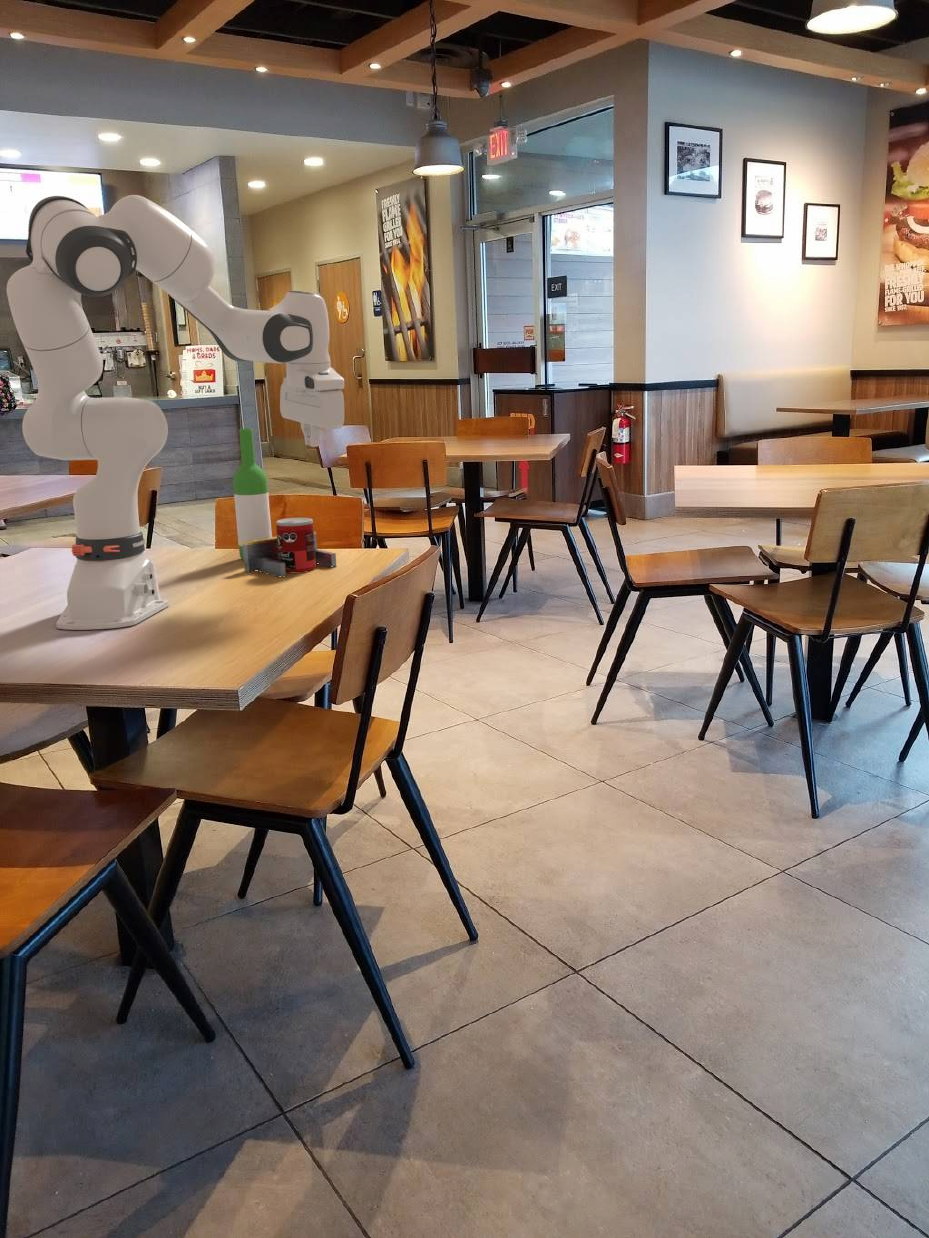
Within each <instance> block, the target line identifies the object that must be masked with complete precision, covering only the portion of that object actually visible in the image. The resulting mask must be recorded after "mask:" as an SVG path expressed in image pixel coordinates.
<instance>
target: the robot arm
mask: <svg viewBox="0 0 929 1238" xmlns="http://www.w3.org/2000/svg"><path fill="white" fill-rule="evenodd" d="M27 229H28V230H27V232H28V234H27V235H28V236H27V241H26V249H25V254H26V256H27V257H28V258H29V260H30V261H31V263H30V264H29V265H26V266H24V267H22V268H19V269H18V270H16V271H15V272H14V273H13V274H12V275H11V276H10V277H9V279H8V280H7V284H6V295H7V301H8V305H9V308H10V312H11V316H12V319H13V322H14V325H15V328H16V331H17V333H18V336H19V338H20V340H21V343H22V345H23V348H24V349H25V352H26V354H27V356H28V357H27V358H28V359H29V362H30V364H31V367H32V370H33V372H34V374H35V377H36V381H37V396H36V399H35V400H34V402H33V403H32V404H31V405H30V406H29V407H28V409H27V410H26V412H25V414H24V416H23V419H22V427H21V428H22V435H23V438H24V440H25V443H26V444H27V446H28V447H29V449H30V450H31V451H32V452H33V453H34V454H35V455H37V456H39V457H44V458H48V459H54V460H61V461H89V460H90V461H91V460H93V461H94V460H95V461H97V472H96V474H95V476H94V478H92V479H90V480H88V481H86V482H85V483H83V484H82V485H81V486H80V487H78V488H77V490H76V491H75V492H74V495H73V499H72V506H73V513H74V520H75V528H76V537H75V544H72V546H71V554H72V556H73V557H75V558H76V563H75V565H74V568H73V570H72V573H71V576H70V580H69V583H68V587H67V589H66V600H67V605H66V607H65V608H64V610H63V611H62V613H61V614H60V617H58V619H57V621H56V623H55V625H56V629H61V630H71V631H72V630H73V631H74V630H75V631H76V630H77V631H79V630H81V631H82V630H85V631H86V630H105V629H118V628H126V627H130V626H135V625H137V624H138V623H141V622H143V621H145V620H146V619H147V618H150V617H151V616H153V615H155V614H156V613H158V612H160V611H162V610H164V609H166V608H168V607H169V605H170V604H169V601H168V599H166V598H161V594H160V590H159V589H160V588H159V583H158V577H157V571H156V567H155V563H154V562H153V561H152V560H150V559H149V558H148V557H147V556H146V554H145V553H144V551H145V550H146V547H145V544H146V543H145V538H144V534H143V531H141V527H140V520H139V519H140V517H139V504H138V501H139V499H138V495H139V494H138V492H139V485H140V481H141V478H142V476H143V472H144V470H145V469H146V468H147V466H148V464H149V463H150V461H151V460H152V459H153V458H154V457H155V456H157V455H158V454H160V452H161V451H162V450H163V448H164V447H165V445H166V442H167V439H168V434H169V425H168V421H167V418H166V416H165V413H164V412H163V410H162V409H161V408H160V406H159V405H158V404H156V402H154V401H150V400H147V399H141V398H136V397H130V396H122V397H120V396H119V397H118V396H116V397H115V396H114V397H91V396H88V395H87V393H86V392H85V391H87V390H89V388H91V387H92V386H94V384H96V383H97V382H98V381H99V379H100V378H101V376H102V373H103V369H104V364H103V363H104V360H103V356H102V354H101V351H100V349H99V346H98V343H97V341H96V338H95V336H94V333H93V331H92V329H91V325H90V323H89V321H88V318H87V316H86V314H85V312H84V310H83V304H82V295H83V296H86V297H92V298H101V297H106V296H108V295H111V294H112V293H114V292H115V291H117V290H118V289H119V288H120V287H121V286H122V285H123V284H124V282H125V281H126V279H128V277H130V276H132V275H133V274H134V273H135V272H136V270H137V271H138V272H139V273H141V274H142V275H143V276H144V277H146V278H147V279H148V280H150V282H151V283H153V284H155V286H157V287H159V288H160V289H161V290H162V291H164V292H165V293H167V294H168V295H169V296H170V297H171V298H172V299H173V300H174V301H175V302H176V303H177V305H179V306H180V307H181V308H182V309H184V311H186V312H187V313H188V315H190V316H191V317H193V319H195V320H196V321H197V322H198V323H200V325H202V327H204V328H205V329H206V330H207V331H208V332H209V333H210V334H211V336H212V337H213V339H214V340H215V342H216V344H217V345H218V347H219V349H220V350H221V351H222V352H223V354H224V355H225V356H226V357H227V358H229V359H231V360H232V361H236V362H258V363H266V364H268V363H270V364H285V365H286V366H285V368H286V369H285V370H286V375H285V376H284V377H283V381H282V384H281V385H280V391H279V394H280V395H279V399H280V400H279V402H280V403H279V410H280V411H279V412H280V414H281V417H282V418H284V419H287V420H291V421H294V422H297V423H300V428H301V430H302V433H303V436H304V444H305V445H306V446H310V447H312V448H317V447H319V446H320V443H321V442H320V437H321V434H322V432H323V429H325V430H328V431H329V430H337V429H342V428H343V426H344V423H345V400H344V398H345V397H344V393H343V391H342V390H343V389H345V378H344V377H343V376H341V375H340V374H339V373H338V372H337V371H336V370H335V369H334V367H332V366H331V365H332V364H331V363H332V362H331V357H330V354H329V343H330V337H331V336H330V321H329V312H328V308H327V304H326V302H325V299H324V297H322V296H321V295H319V294H318V293H317V294H316V293H314V292H309V291H301V290H291V291H288V292H286V294H285V296H284V298H283V299H282V300H281V301H279V303H278V304H276V305H274V306H273V307H270V308H268V310H260V309H248V308H243V307H242V308H241V307H237V306H234V305H231V304H229V303H228V302H227V301H226V300H225V299H224V298H223V297H222V296H220V294H219V293H218V292H217V291H215V290H214V289H213V288H212V287H211V286H210V285H211V283H212V281H213V278H214V275H215V271H216V261H215V256H214V253H213V252H214V251H212V249H211V248H210V247H209V246H208V244H207V243H206V242H205V241H204V240H203V238H202V237H200V236H199V235H198V234H197V233H196V232H195V231H194V230H193V229H191V228H190V227H189V226H188V225H187V224H185V223H184V222H183V221H182V220H180V219H179V217H177V216H175V215H174V214H172V213H171V212H170V211H168V210H167V209H165V208H164V207H162V206H160V205H159V204H158V203H155V202H154V201H152V200H151V199H149V198H146V197H145V196H143V195H139V194H129V195H126V196H123V197H122V198H120V199H118V200H117V201H116V202H115V203H114V204H113V205H112V207H111V208H110V209H109V210H108V211H107V212H106V213H104V214H99V215H98V216H97V215H96V214H94V212H92V211H90V210H89V208H88V207H86V206H85V205H84V204H83V203H82V202H80V201H78V200H76V199H73V198H71V197H68V196H62V195H52V196H48V197H45V198H43V199H41V200H39V201H38V202H37V203H36V204H35V206H34V207H33V209H32V210H31V212H30V215H29V220H28V228H27Z"/></svg>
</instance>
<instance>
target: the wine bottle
mask: <svg viewBox="0 0 929 1238" xmlns="http://www.w3.org/2000/svg"><path fill="white" fill-rule="evenodd" d="M238 432H239V433H238V434H239V444H240V456H241V457H240V458H241V464H240V466H238V468H237V469H236V471H235V472H234V475H233V478H232V479H233V480H232V484H233V486H232V487H233V496H234V499H233V500H234V509H235V518H236V519H235V520H236V530H237V533H236V534H237V540H238V541H237V544H238V550H239V556H240V558H241V560H242V559H243V560H242V561H244V556H243V545H242V542H246V541H252V540H258V539H264V538H270V537H273V535H272V522H271V510H270V499H269V489H268V487H269V486H268V478H267V475H266V473H265V471H264V470H263V468H261V467H260V466H258V465H257V463H256V455H255V447H254V445H255V444H254V443H255V442H254V434H253V432H254V431H253V429H252V428H240V429H239V430H238Z"/></svg>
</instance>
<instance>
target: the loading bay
mask: <svg viewBox="0 0 929 1238" xmlns="http://www.w3.org/2000/svg"><path fill="white" fill-rule="evenodd" d="M317 542H318V541H317V531H314V543H315V559H316V563H319V564H322V565H321V566H324V565H326V566H325V567H328V566H336V567H337V556H336V555H337V554H336V552H331V551H327V550H322V549H318V545H317ZM242 545H243V556H244V560H243V564H244V565H243V566H244V571H245V572H247V571H248V573H252V572H251V571H254V572H256V571H255V570H258V571H257V572H259V571H261V572H260V573H262V572H265V573H264V574H266V573H268V574H267V575H270V574H271V575H270V576H274V575H275V576H274V577H277V576H281V577H280V578H283V577H282V576H287V573H286V571H285V563H284V562H279V553H278V541H277V536H272V537H270V538H264V539H258V540H252V541H246V542H242ZM319 564H318V565H319Z"/></svg>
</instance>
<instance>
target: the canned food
mask: <svg viewBox="0 0 929 1238" xmlns="http://www.w3.org/2000/svg"><path fill="white" fill-rule="evenodd" d="M275 522H276V524H275V527H276V528H275V529H276V537H277V541H278V553H279V562H284V563H285V571H286V572H301V573H306V572H305V571H308V572H311V571H310V570H312V571H314V570H315V569H316V567H317V564H316V559H315V543H314V532H315V531H314V529H315V528H314V521H313V518H309V517H287V518H281V519H278V520H277V521H275ZM314 568H315V569H314ZM313 569H314V570H313Z"/></svg>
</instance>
